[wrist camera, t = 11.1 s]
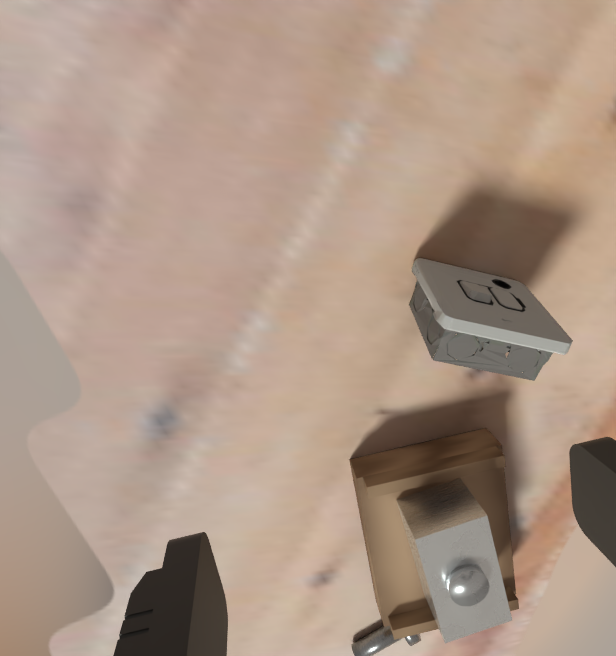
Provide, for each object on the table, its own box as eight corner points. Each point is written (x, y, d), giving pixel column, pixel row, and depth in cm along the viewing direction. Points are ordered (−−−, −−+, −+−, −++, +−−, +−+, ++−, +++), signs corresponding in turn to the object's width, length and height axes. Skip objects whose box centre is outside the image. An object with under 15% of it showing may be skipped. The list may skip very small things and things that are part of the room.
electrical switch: (521, 280, 42) (588, 320, 34) (498, 339, 44) (556, 392, 36) (411, 254, 41) (452, 289, 32) (392, 316, 43) (425, 365, 34)
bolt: (402, 605, 50) (411, 627, 47) (415, 623, 50) (424, 646, 48) (347, 637, 50) (352, 661, 47) (360, 654, 51) (366, 679, 48)
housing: (460, 478, 43) (492, 522, 38) (484, 574, 46) (517, 628, 40) (396, 499, 43) (418, 547, 37) (424, 594, 46) (448, 652, 40)
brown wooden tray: (485, 428, 46) (510, 454, 41) (500, 570, 50) (524, 607, 46) (349, 459, 45) (360, 488, 41) (376, 600, 49) (388, 641, 45)
